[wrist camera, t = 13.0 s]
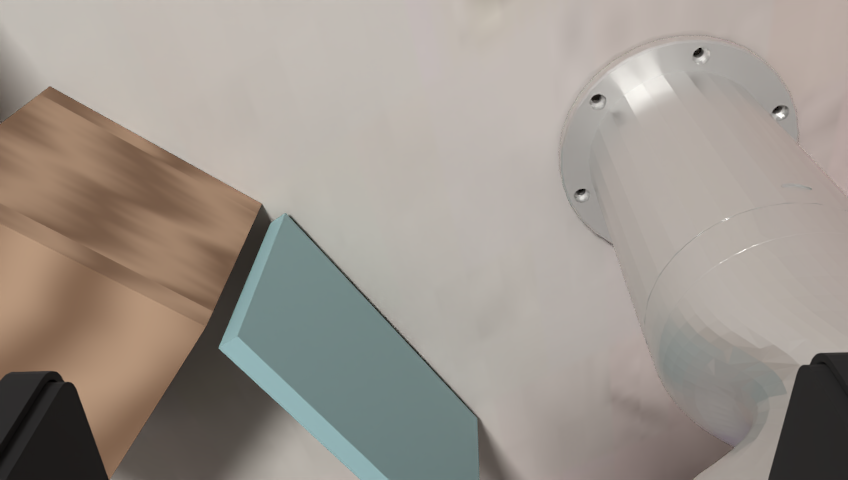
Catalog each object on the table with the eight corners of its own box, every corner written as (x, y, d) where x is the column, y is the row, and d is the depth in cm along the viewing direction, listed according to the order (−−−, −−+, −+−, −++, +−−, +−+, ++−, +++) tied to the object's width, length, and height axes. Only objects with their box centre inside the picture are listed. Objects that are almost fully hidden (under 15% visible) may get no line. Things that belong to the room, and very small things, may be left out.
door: (293, 207, 46) (204, 442, 30) (484, 414, 53) (497, 691, 37) (262, 228, 47) (160, 468, 30) (455, 429, 54) (456, 707, 38)
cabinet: (261, 204, 46) (205, 326, 36) (132, 414, 55) (58, 561, 45) (49, 86, 43) (-79, 184, 33) (-52, 329, 52) (-178, 467, 41)
